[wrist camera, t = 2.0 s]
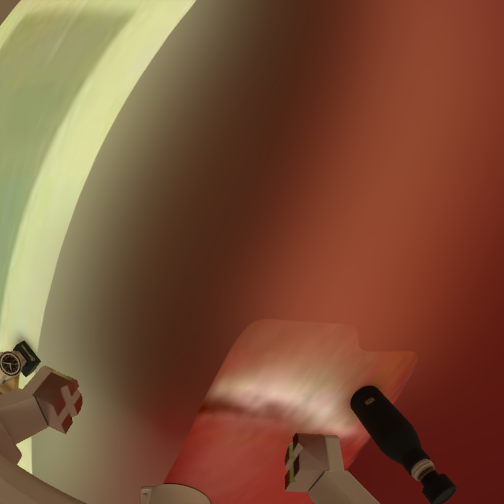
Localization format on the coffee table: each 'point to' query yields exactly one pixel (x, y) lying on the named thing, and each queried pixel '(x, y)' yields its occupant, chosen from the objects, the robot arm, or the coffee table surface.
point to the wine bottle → (400, 442)
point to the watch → (17, 362)
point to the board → (10, 385)
